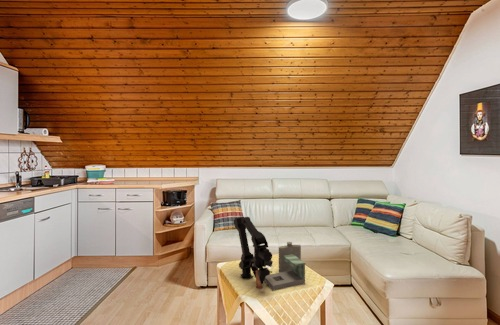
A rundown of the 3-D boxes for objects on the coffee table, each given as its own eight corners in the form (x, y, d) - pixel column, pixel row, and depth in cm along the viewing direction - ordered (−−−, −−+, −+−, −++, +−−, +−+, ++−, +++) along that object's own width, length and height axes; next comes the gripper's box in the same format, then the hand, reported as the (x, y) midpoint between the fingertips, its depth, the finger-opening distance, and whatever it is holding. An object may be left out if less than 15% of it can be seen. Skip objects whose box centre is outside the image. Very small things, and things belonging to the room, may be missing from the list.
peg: (254, 286, 173) (254, 270, 172) (260, 285, 174) (260, 269, 174) (257, 289, 169) (257, 273, 168) (263, 288, 170) (263, 272, 170)
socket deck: (263, 280, 180) (263, 275, 180) (293, 274, 188) (293, 269, 188) (273, 290, 167) (273, 285, 167) (304, 283, 176) (304, 279, 175)
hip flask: (279, 274, 189) (279, 244, 188) (277, 271, 193) (277, 242, 192) (301, 271, 193) (301, 242, 192) (298, 268, 197) (299, 240, 196)
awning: (283, 271, 186) (283, 255, 185) (292, 269, 189) (292, 254, 188) (295, 281, 172) (295, 264, 172) (305, 279, 175) (305, 262, 174)
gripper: (278, 259, 165) (278, 285, 166) (264, 248, 182) (264, 272, 183) (260, 262, 161) (260, 289, 162) (248, 251, 178) (248, 275, 179)
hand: (259, 280), depth 171 cm, fingers open, 9 cm apart
